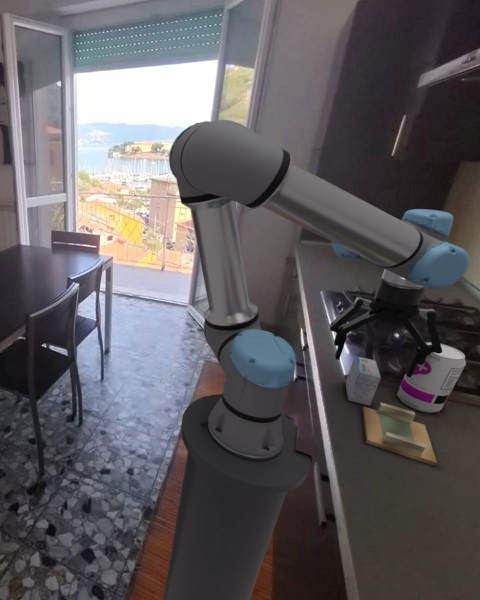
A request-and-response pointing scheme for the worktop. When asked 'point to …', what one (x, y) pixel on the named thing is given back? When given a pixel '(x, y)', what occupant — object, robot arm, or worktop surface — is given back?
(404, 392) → the supplement can
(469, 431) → the worktop surface
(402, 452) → the mount pad
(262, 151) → the robot arm
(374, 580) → the worktop surface
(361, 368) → the medicine box
